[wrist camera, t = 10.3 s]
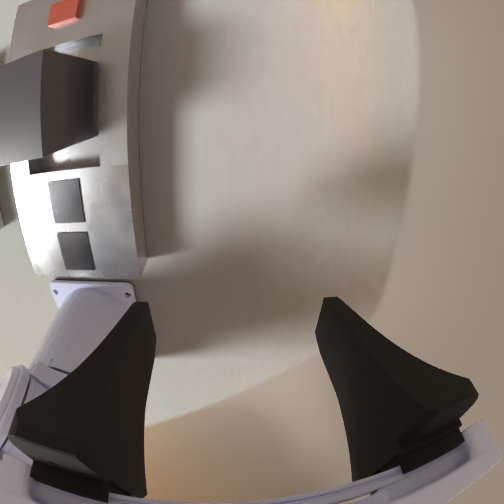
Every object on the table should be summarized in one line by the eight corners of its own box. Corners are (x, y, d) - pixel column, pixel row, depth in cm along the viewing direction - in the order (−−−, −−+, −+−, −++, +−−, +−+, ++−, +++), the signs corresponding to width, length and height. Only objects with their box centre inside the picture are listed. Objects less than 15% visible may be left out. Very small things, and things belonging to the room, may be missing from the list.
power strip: (147, 258, 20) (139, 282, 17) (48, 258, 19) (32, 278, 16) (150, -19, 10) (140, -37, 8) (36, 12, 9) (14, 5, 7)
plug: (93, 137, 14) (42, 157, 9) (49, 144, 14) (-7, 167, 9) (94, 61, 12) (43, 49, 7) (49, 72, 11) (-9, 71, 6)
